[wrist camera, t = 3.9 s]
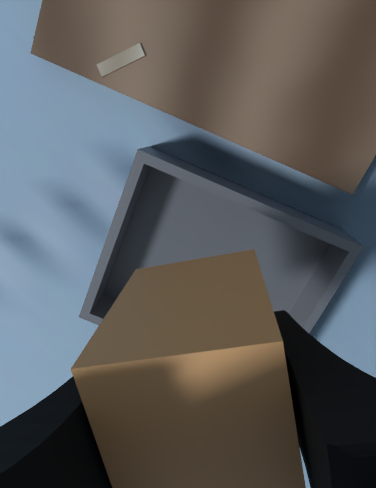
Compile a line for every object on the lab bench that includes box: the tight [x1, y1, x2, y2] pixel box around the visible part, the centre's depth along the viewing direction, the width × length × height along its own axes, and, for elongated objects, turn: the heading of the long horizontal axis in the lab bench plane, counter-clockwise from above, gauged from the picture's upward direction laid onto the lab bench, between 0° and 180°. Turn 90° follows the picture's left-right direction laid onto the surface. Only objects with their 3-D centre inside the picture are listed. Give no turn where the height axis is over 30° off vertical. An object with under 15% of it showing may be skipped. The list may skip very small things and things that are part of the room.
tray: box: [79, 146, 364, 333], centre depth 20 cm, size 12×10×3 cm
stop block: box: [71, 249, 306, 488], centre depth 11 cm, size 4×4×6 cm
